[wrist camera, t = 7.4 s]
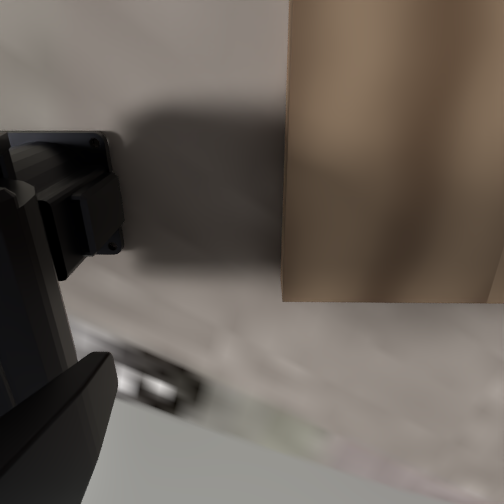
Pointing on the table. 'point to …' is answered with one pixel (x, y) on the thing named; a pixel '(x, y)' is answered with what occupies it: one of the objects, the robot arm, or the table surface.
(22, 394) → the robot arm
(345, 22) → the board
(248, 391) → the table surface
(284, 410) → the table surface
